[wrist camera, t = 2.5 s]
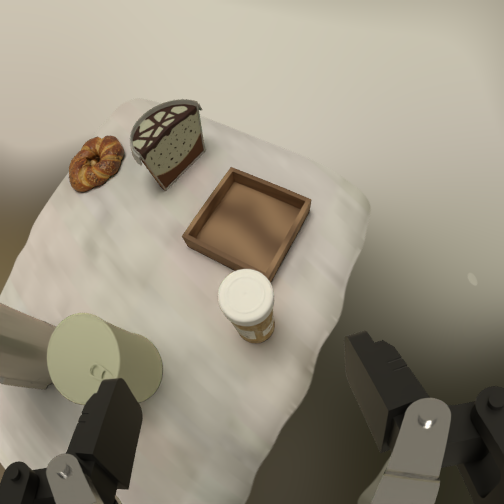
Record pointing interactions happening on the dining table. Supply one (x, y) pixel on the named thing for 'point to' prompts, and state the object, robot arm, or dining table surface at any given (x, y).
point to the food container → (168, 140)
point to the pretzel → (95, 163)
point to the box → (248, 223)
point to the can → (100, 358)
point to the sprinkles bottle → (248, 304)
